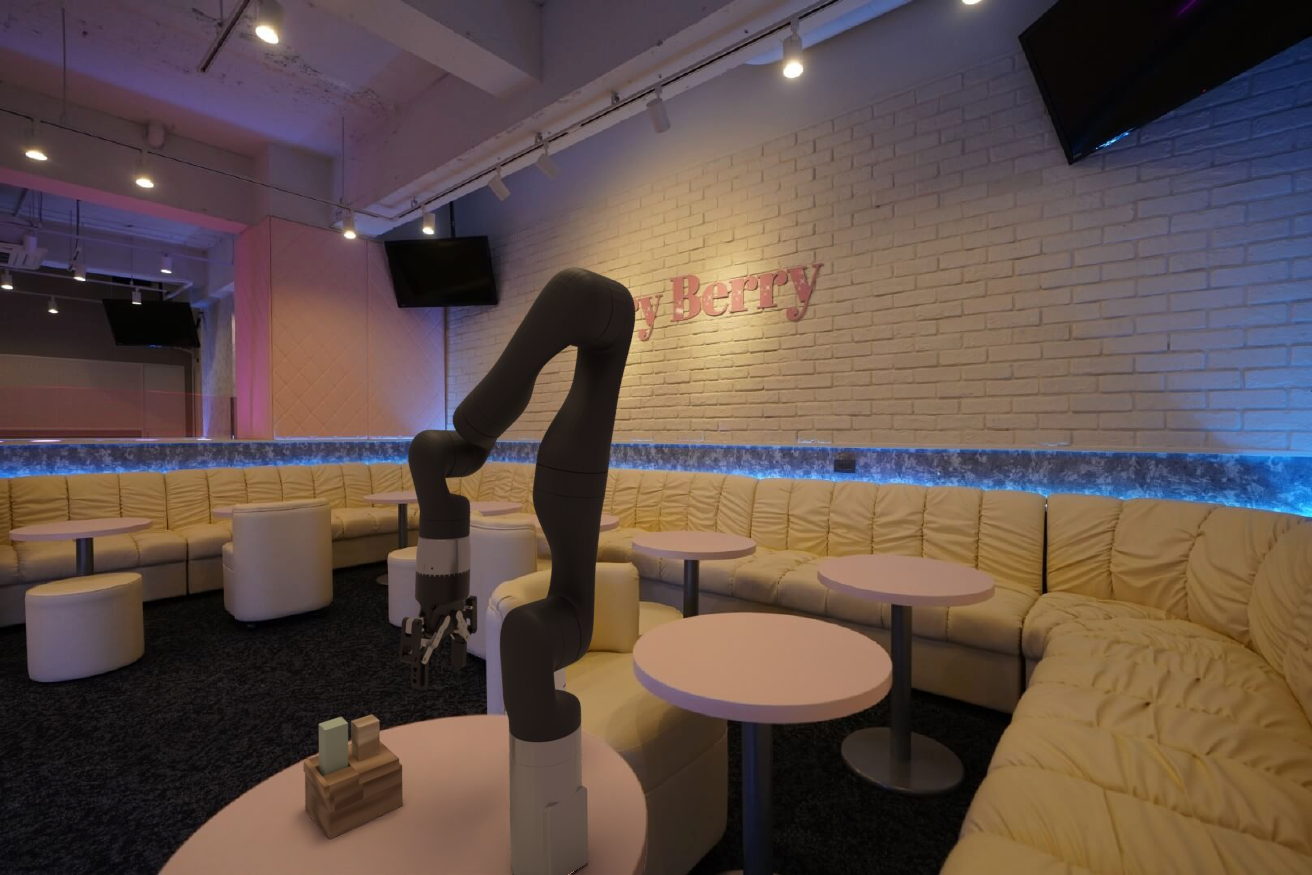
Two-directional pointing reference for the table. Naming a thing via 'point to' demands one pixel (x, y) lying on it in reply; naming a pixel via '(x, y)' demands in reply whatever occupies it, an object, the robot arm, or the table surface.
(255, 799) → the table surface
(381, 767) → the lid
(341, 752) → the green square block
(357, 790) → the box
